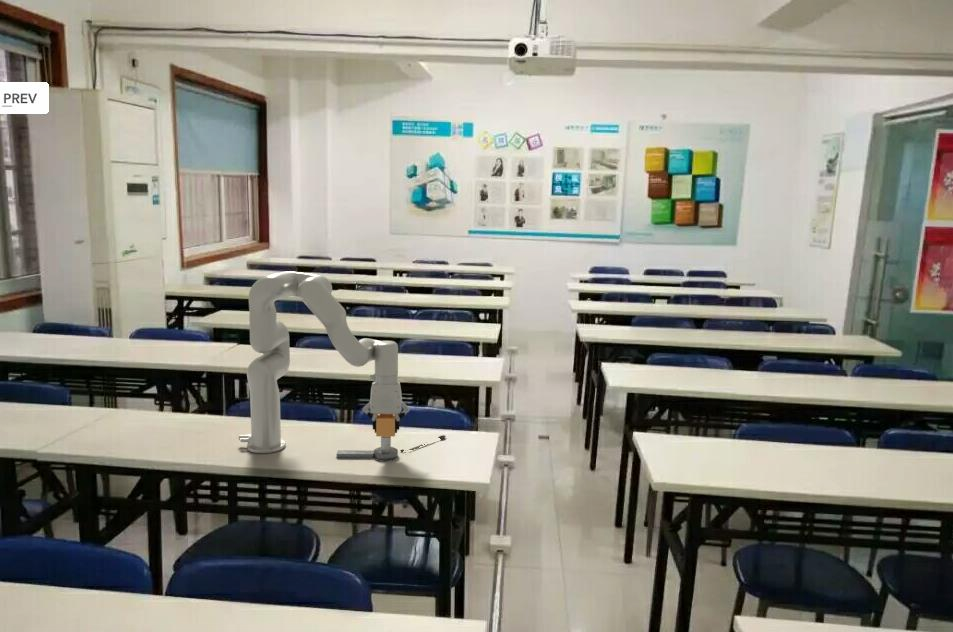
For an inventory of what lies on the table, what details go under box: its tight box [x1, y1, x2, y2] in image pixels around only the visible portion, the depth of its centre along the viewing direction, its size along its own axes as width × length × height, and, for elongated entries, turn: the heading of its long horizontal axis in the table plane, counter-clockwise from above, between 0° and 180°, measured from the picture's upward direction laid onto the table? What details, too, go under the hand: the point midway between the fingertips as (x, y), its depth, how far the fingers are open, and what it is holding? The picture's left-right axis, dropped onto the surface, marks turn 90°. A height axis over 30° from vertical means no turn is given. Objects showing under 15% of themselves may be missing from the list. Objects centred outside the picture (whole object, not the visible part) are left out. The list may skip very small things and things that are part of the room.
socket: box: [375, 414, 396, 437], centre depth 220 cm, size 6×6×6 cm
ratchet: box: [336, 436, 399, 462], centre depth 221 cm, size 20×8×7 cm, turn 94°
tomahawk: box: [399, 434, 446, 453], centre depth 233 cm, size 21×7×1 cm, turn 139°
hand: (386, 431), depth 221 cm, fingers closed on socket, 6 cm apart
